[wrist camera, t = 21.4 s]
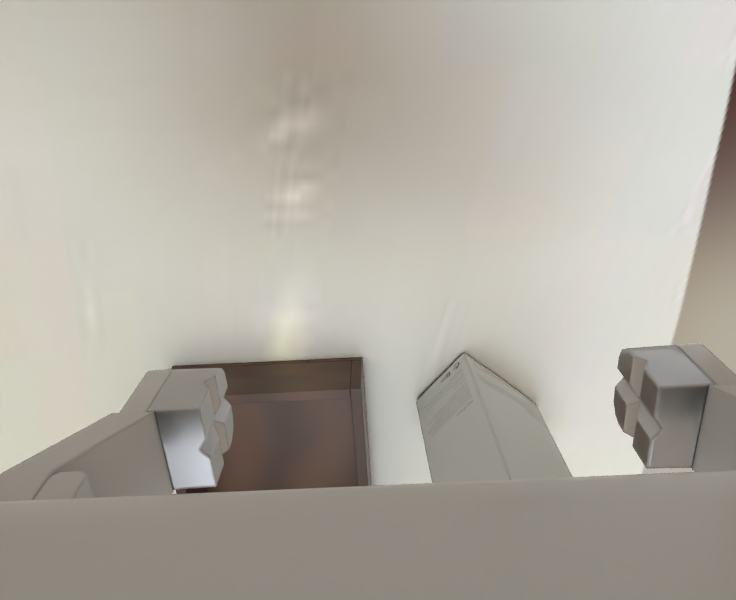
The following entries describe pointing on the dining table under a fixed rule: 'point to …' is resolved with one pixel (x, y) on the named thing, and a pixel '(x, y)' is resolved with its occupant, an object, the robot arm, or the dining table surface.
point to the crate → (294, 426)
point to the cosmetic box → (484, 429)
